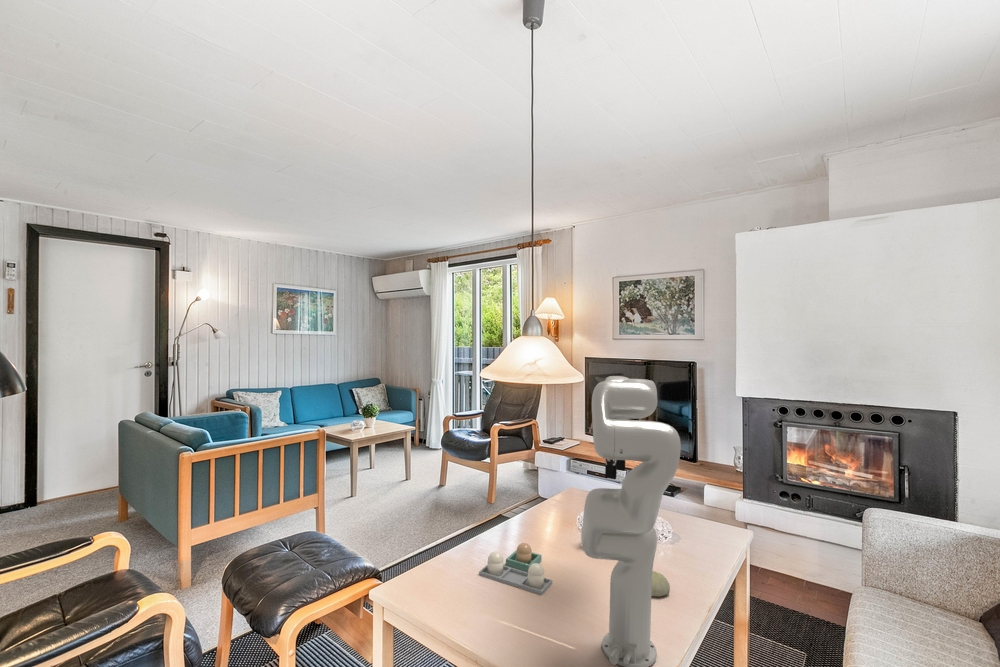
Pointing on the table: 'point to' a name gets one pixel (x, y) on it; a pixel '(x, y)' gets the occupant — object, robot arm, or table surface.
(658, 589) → the sea urchin shell
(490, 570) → the cream egg left
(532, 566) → the cream egg right
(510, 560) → the egg holder
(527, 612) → the table surface
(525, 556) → the brown egg
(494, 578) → the egg carton
